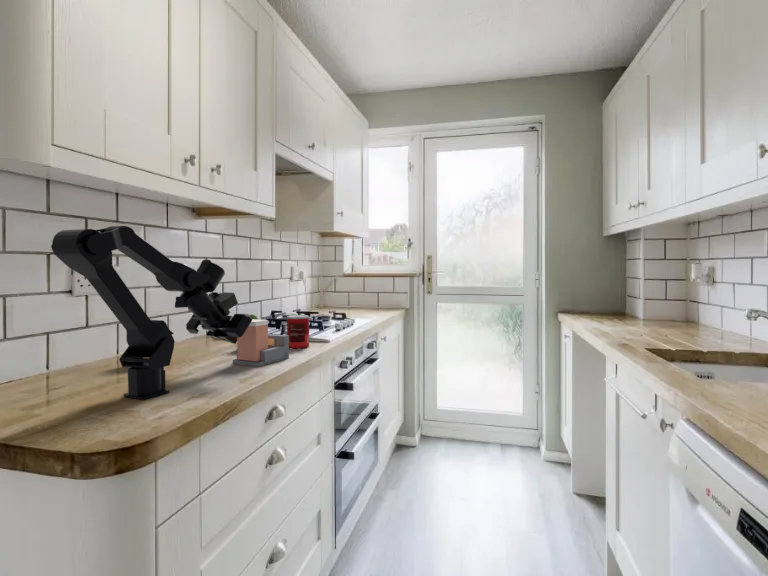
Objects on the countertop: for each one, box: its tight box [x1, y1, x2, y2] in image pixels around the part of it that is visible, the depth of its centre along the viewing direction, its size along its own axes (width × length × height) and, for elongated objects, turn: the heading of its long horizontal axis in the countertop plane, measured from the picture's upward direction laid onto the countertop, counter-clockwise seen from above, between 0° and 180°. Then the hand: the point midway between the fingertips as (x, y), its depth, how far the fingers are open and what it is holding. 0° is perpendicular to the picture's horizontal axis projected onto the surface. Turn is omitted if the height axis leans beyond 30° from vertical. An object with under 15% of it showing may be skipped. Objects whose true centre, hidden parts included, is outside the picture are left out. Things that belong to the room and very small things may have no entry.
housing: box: [232, 333, 290, 367], centre depth 129 cm, size 13×11×7 cm
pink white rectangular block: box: [236, 319, 269, 361], centre depth 126 cm, size 5×7×11 cm
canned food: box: [286, 314, 310, 350], centre depth 152 cm, size 8×8×11 cm
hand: (235, 342), depth 120 cm, fingers closed
